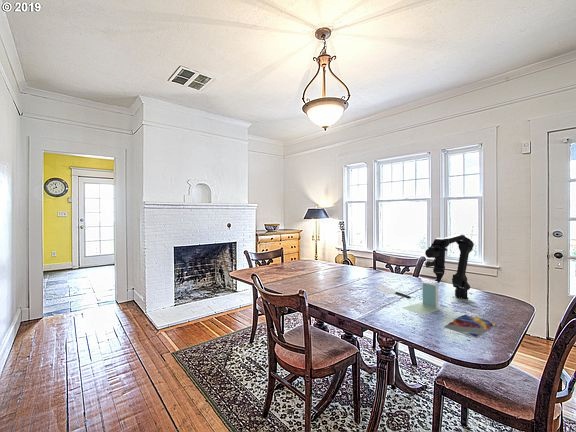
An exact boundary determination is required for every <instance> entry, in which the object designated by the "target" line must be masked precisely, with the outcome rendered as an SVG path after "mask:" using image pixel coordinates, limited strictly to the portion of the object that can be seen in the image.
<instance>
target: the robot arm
mask: <svg viewBox="0 0 576 432" xmlns="http://www.w3.org/2000/svg"><path fill="white" fill-rule="evenodd" d="M454 243H456V244H457V245H458V246H457V247H458V250H459V257H458V263H457V270H456V273H454V274H452V278H451V280H452V281H451V282H452V286H453V288H455V289H454V296H455V297H456V298H457V299H465V300H468V299H469V297H468V291H469V290H470V289H471V285H470V284H469V283H468V277H467V274H466V273H467V272H466V271H467V266H468V261H469V255H470V253H471V252H472V251H473V248H474V245H475V243H474V241H473V240H471V239H470V238H468V237H467V236H465V234H462V233H461V234H460V233H456V234H454V235H451V236H447V237H436V238H434V240H433V241H432V243H431V245H430V246H428V248H427V249H426V250H425V253H424V254H425V257H427V258H429V259H431V258H433V260H428V261H425V262H424V265H425V267H426V269H427V268H431V267H433V270H432V272H433V273H434V274H435V277H436V281H437V284H440V283H441V281H442V279H443V276H444V275H445V272H446V271H445V270H446V266H445V265H446V264H445V262H446V252H447V251H448V248H447V247H449V245H451V244H454Z"/></svg>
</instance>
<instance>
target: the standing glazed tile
mask: <svg viewBox="0 0 576 432" xmlns="http://www.w3.org/2000/svg"><path fill="white" fill-rule="evenodd" d="M422 302H423V304H424V305H427V306H430V307H433V308H438V307H439V284H436V283H431V282H427V281H422Z"/></svg>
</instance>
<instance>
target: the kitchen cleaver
mask: <svg viewBox="0 0 576 432" xmlns="http://www.w3.org/2000/svg"><path fill="white" fill-rule="evenodd" d="M374 289H377V290H380V291H383V292H385V293H388V294H389V295H398V296H399V297H402V298H405V299H408V300H409V299H411V298H412V296H410V295H407V294H406V293H405V294H404V293H402V292H400V291H396V290H393V289H391V288H389V287H387V286H386V285H380V286H376V287H374Z"/></svg>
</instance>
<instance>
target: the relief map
mask: <svg viewBox="0 0 576 432" xmlns="http://www.w3.org/2000/svg"><path fill="white" fill-rule="evenodd" d="M497 325H498V323H497V322H494V321H490V320H488V319H484V318H482V317H477V316H476V317H475V316H471V315H467V314H463V315H460V316H458V317H455V318H454V319H453V320H452V321H450V322H449V323H448V324H446V325H444V326H443V328H445V329H448V330H451V331H453V332H457V333H460V334H463V335H466V336H470V337H473V338H476V339H478V338H479V337H481V336H482V335H484V334H485V333H487V332H489V331H490V330H491V329H492V328H494V327H495V326H497Z"/></svg>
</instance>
